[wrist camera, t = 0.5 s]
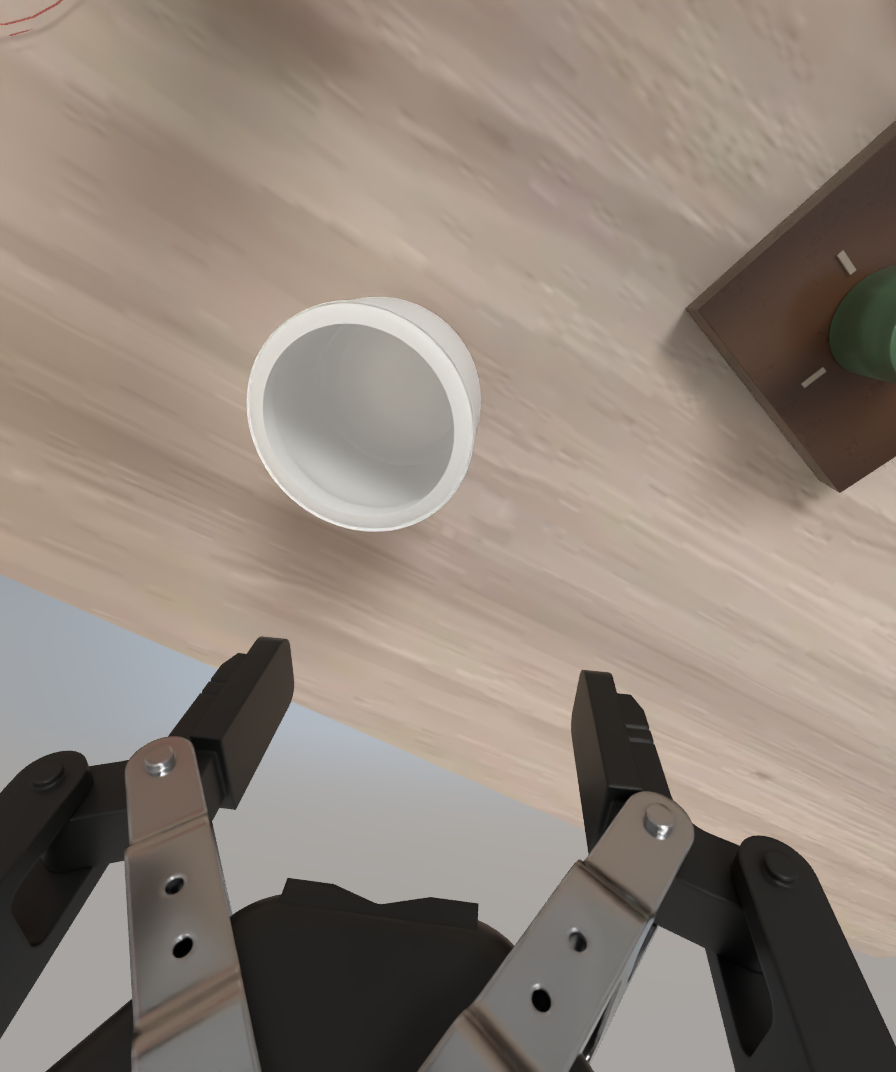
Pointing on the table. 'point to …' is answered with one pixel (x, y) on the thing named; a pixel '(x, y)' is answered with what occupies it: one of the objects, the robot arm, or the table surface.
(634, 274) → the table surface
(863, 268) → the base
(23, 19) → the figurine
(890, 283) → the knob
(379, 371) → the jar
